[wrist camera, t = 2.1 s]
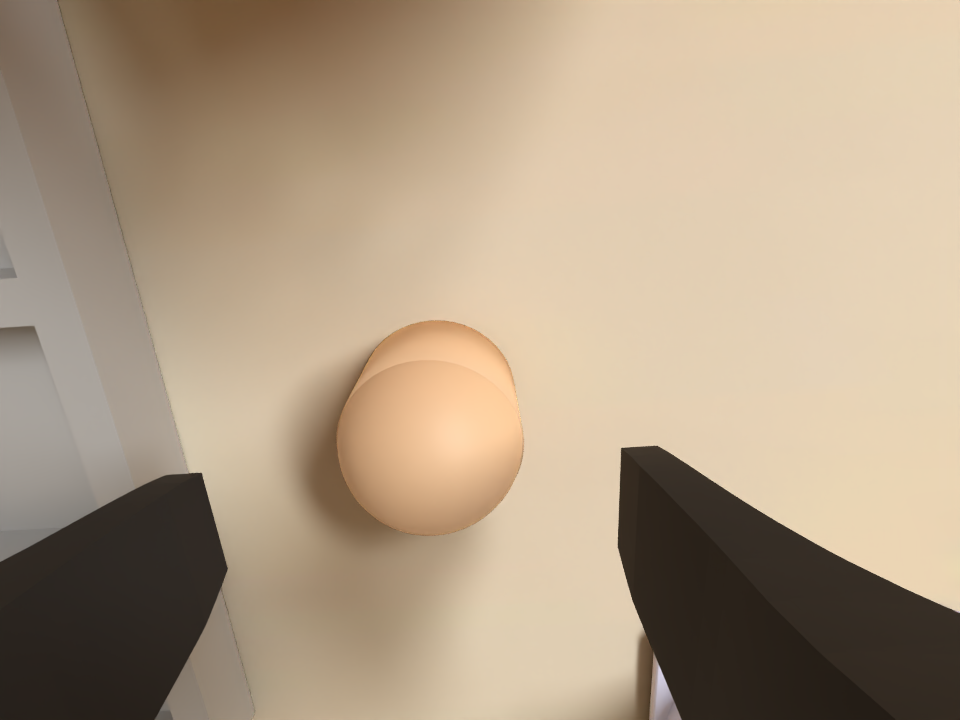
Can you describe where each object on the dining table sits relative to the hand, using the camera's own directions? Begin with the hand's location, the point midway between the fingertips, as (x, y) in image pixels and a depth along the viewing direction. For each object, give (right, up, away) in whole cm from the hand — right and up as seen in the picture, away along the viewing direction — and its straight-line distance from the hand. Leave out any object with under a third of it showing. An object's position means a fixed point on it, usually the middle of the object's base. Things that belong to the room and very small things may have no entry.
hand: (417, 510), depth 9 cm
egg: (0, +2, +5) cm, 5 cm away
